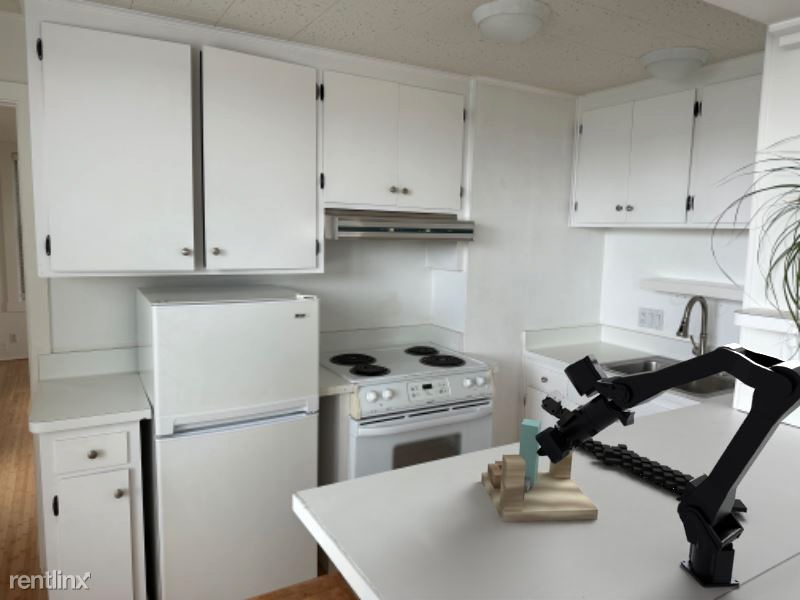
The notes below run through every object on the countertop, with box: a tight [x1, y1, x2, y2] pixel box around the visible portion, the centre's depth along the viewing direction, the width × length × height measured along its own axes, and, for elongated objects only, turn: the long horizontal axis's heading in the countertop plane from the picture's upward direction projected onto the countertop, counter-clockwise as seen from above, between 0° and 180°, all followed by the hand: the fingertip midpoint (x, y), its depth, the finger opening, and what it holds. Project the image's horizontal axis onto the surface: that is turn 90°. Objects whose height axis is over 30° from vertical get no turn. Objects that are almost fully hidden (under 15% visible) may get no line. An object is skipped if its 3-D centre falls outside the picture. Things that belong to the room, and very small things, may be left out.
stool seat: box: [480, 449, 599, 523], centre depth 116 cm, size 17×19×12 cm
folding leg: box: [518, 418, 542, 493], centre depth 116 cm, size 7×4×13 cm, turn 156°
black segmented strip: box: [578, 437, 748, 514], centre depth 130 cm, size 11×40×4 cm, turn 33°
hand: (538, 453), depth 116 cm, fingers closed, pressing on folding leg
